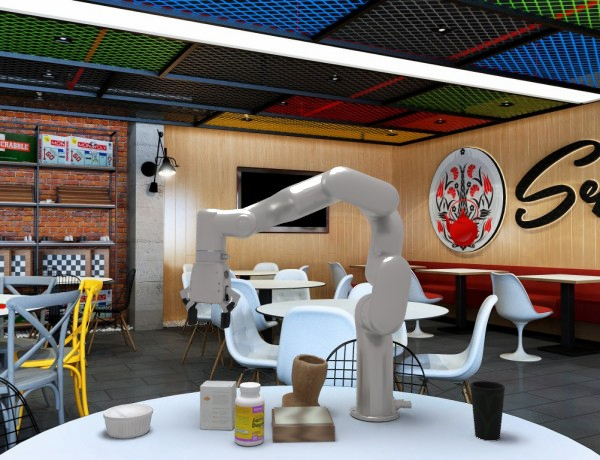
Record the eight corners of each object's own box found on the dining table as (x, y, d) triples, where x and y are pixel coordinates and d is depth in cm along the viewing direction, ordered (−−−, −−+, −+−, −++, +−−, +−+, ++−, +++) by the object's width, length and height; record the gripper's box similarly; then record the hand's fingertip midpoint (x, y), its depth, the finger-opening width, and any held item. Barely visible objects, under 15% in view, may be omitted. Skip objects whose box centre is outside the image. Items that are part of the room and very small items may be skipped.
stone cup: (329, 420, 145) (330, 361, 146) (283, 420, 145) (283, 361, 145) (324, 403, 161) (324, 349, 161) (281, 403, 160) (282, 349, 160)
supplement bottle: (252, 449, 125) (252, 389, 125) (228, 443, 128) (229, 385, 129) (270, 440, 131) (270, 383, 131) (246, 434, 134) (247, 379, 134)
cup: (487, 444, 129) (487, 390, 129) (463, 434, 135) (463, 383, 136) (512, 439, 132) (512, 386, 132) (487, 429, 139) (487, 379, 139)
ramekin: (92, 437, 132) (93, 414, 132) (123, 422, 143) (123, 401, 143) (133, 443, 128) (133, 419, 129) (161, 428, 139) (162, 406, 139)
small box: (237, 423, 143) (237, 380, 143) (232, 430, 137) (232, 386, 137) (205, 422, 143) (205, 380, 144) (199, 429, 138) (199, 385, 138)
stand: (327, 421, 144) (327, 405, 144) (334, 441, 130) (334, 423, 130) (271, 422, 143) (271, 406, 143) (273, 442, 129) (273, 424, 129)
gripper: (248, 259, 144) (246, 327, 143) (190, 256, 151) (188, 322, 150) (232, 259, 137) (230, 331, 136) (173, 257, 144) (171, 325, 144)
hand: (208, 326), depth 143 cm, fingers open, 9 cm apart
